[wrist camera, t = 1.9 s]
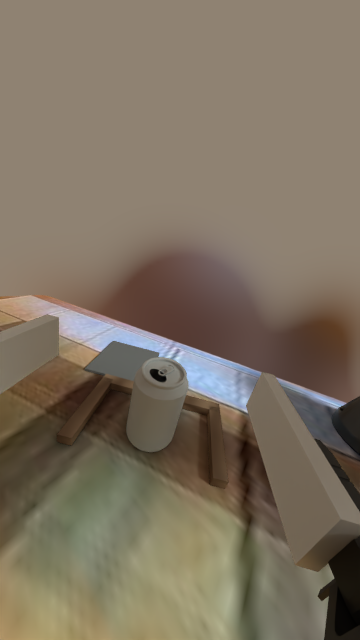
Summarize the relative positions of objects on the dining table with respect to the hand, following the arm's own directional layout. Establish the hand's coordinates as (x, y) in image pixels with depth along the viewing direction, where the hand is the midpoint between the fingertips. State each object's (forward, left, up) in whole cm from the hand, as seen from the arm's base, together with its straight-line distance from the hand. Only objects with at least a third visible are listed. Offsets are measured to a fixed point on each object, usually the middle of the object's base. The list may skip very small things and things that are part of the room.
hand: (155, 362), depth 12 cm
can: (0, -11, -20) cm, 23 cm away
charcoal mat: (+10, -26, -20) cm, 34 cm away
